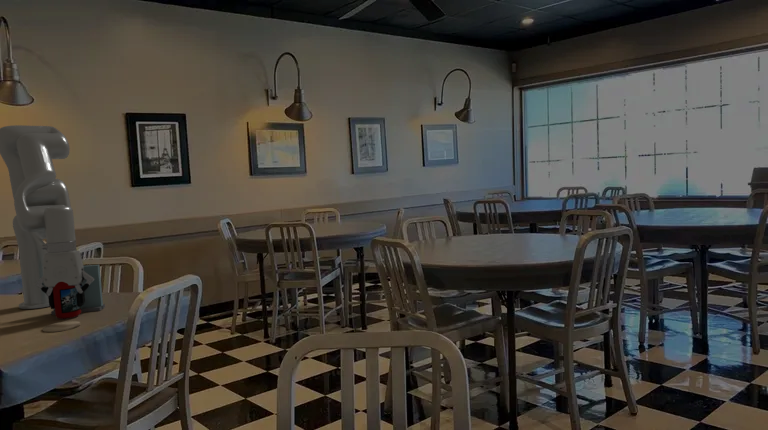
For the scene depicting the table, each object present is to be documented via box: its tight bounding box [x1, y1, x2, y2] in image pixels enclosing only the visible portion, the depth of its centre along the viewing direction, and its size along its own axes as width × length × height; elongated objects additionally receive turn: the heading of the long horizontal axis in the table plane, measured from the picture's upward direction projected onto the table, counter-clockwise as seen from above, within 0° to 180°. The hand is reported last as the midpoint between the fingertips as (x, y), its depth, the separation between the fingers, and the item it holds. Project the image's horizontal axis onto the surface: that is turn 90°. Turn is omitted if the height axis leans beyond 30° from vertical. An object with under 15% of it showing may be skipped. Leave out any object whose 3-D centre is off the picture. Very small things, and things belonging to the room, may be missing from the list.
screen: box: [50, 264, 106, 316], centre depth 176 cm, size 5×14×14 cm, turn 99°
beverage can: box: [53, 282, 82, 320], centre depth 168 cm, size 7×7×12 cm
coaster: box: [42, 320, 81, 333], centre depth 156 cm, size 9×9×1 cm
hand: (67, 306), depth 169 cm, fingers closed on beverage can, 6 cm apart
